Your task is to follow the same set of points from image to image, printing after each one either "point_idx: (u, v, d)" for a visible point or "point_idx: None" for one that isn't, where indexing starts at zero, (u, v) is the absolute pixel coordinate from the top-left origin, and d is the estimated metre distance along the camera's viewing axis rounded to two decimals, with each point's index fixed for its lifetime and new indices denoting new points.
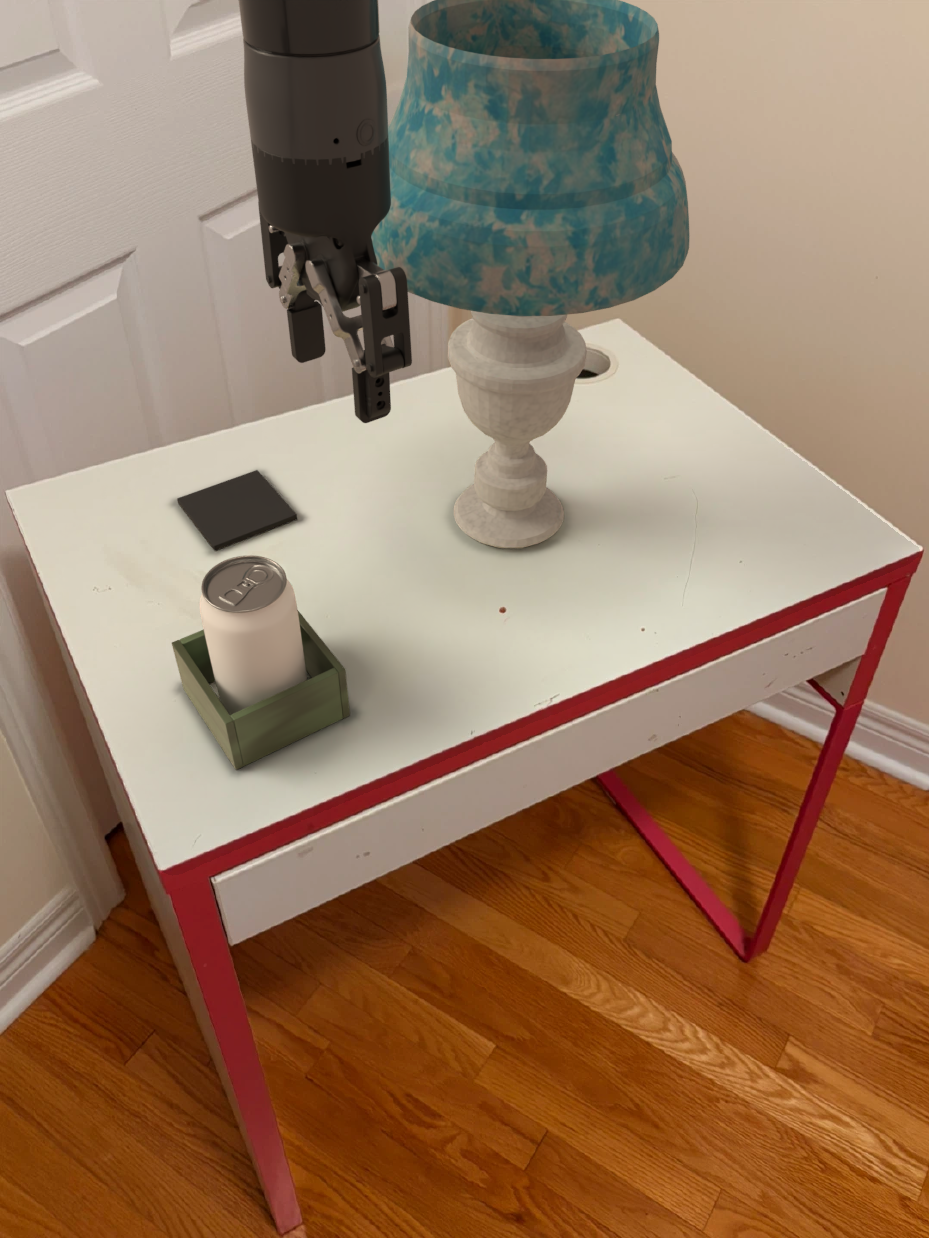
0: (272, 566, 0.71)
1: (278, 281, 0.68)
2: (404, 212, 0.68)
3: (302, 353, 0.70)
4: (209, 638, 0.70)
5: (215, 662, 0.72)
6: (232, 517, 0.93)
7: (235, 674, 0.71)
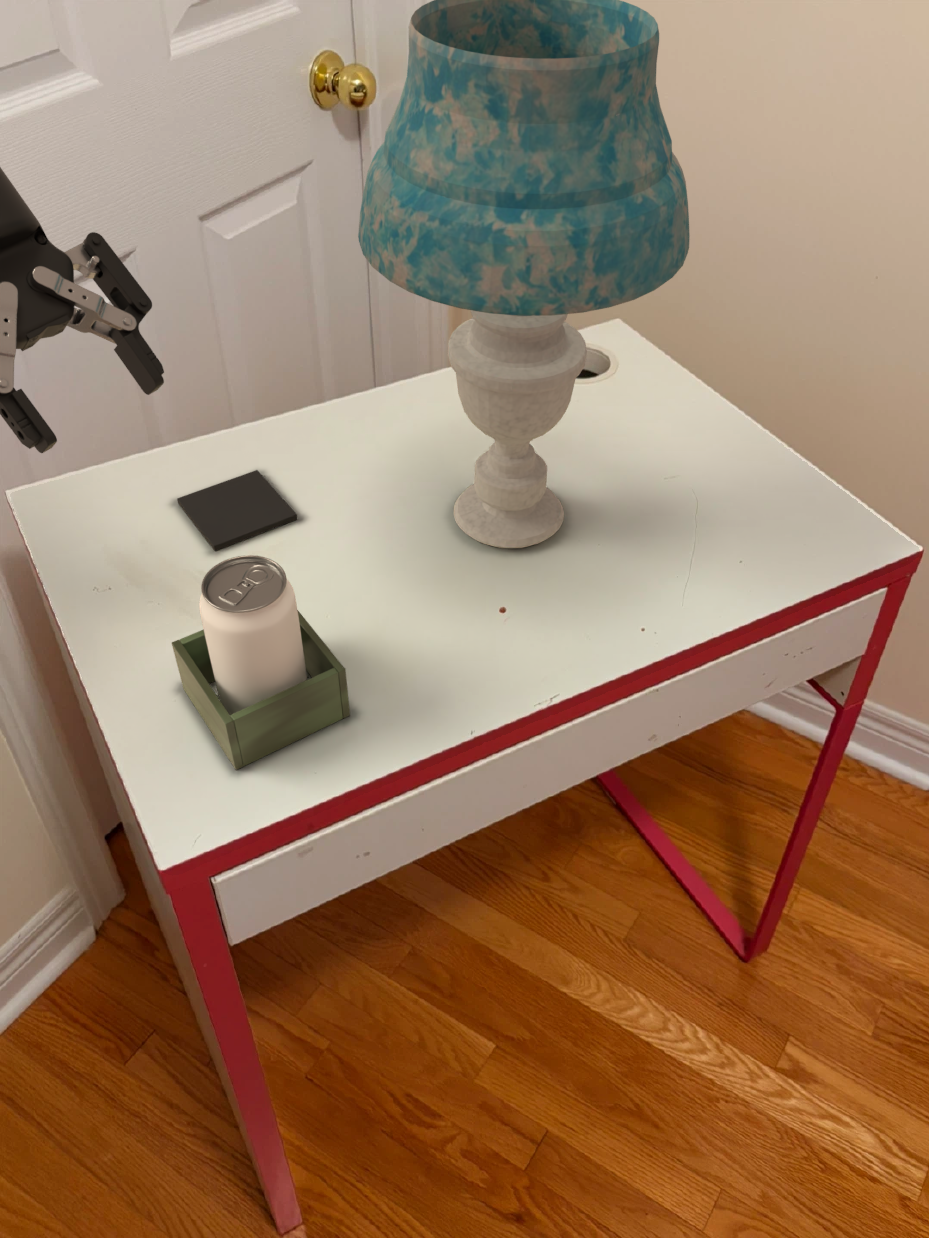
0: (272, 566, 0.71)
1: None
2: (404, 212, 0.68)
3: None
4: (209, 638, 0.70)
5: (215, 662, 0.72)
6: (232, 517, 0.93)
7: (235, 674, 0.71)
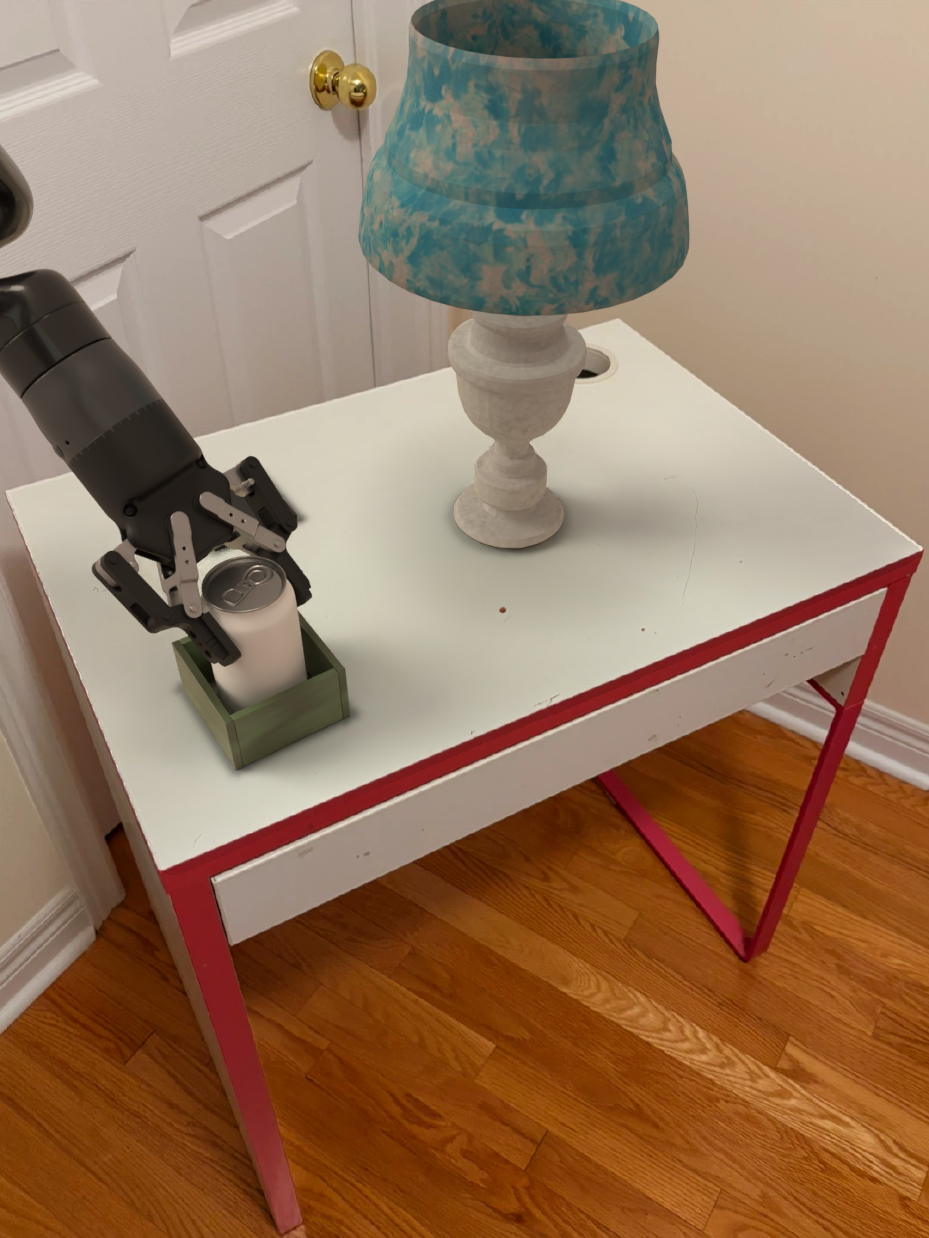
0: (272, 566, 0.71)
1: None
2: (404, 212, 0.68)
3: None
4: None
5: None
6: None
7: (235, 674, 0.71)
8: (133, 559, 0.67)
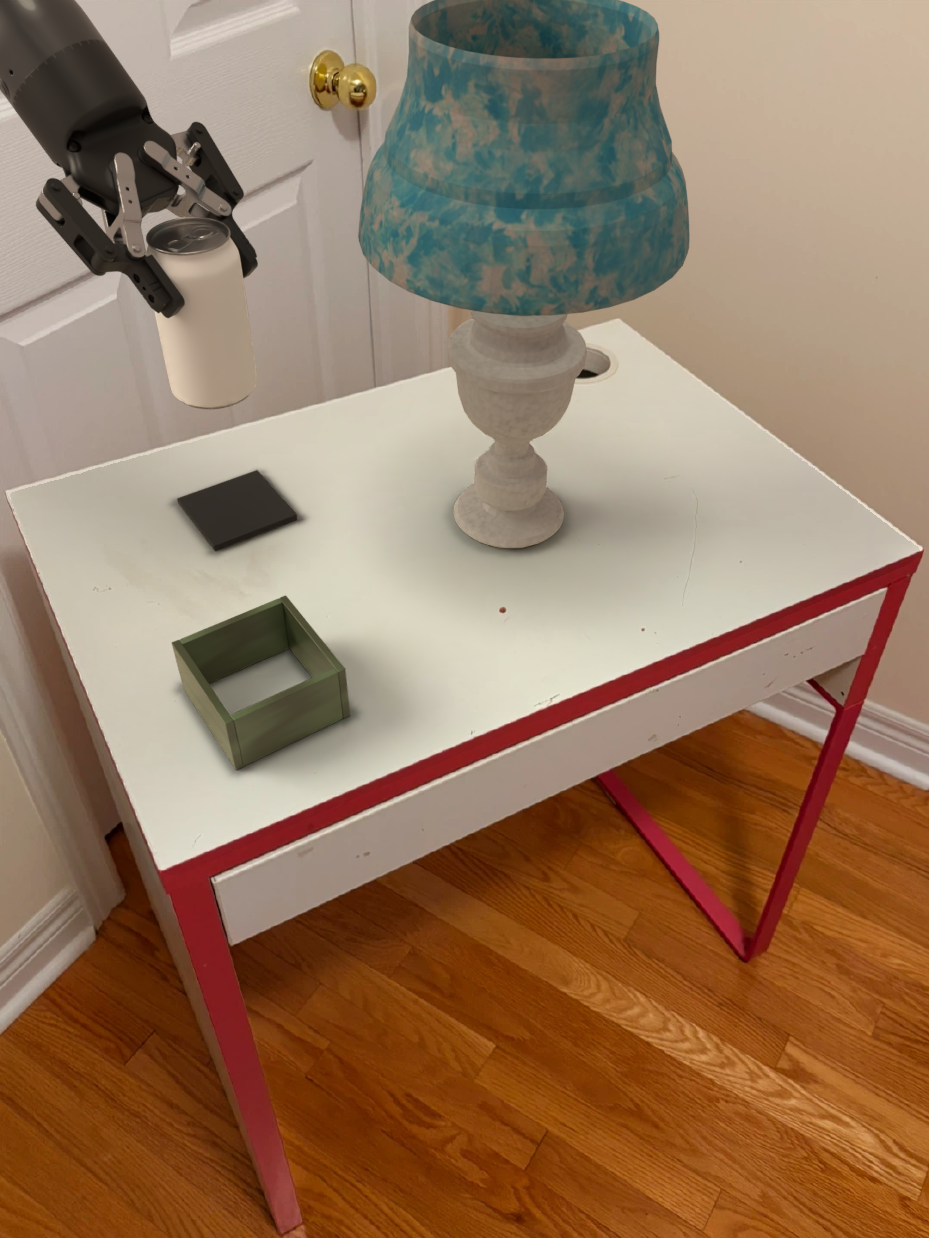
0: (217, 226, 0.73)
1: None
2: (404, 212, 0.68)
3: None
4: None
5: (161, 323, 0.73)
6: (232, 517, 0.93)
7: (180, 333, 0.73)
8: None
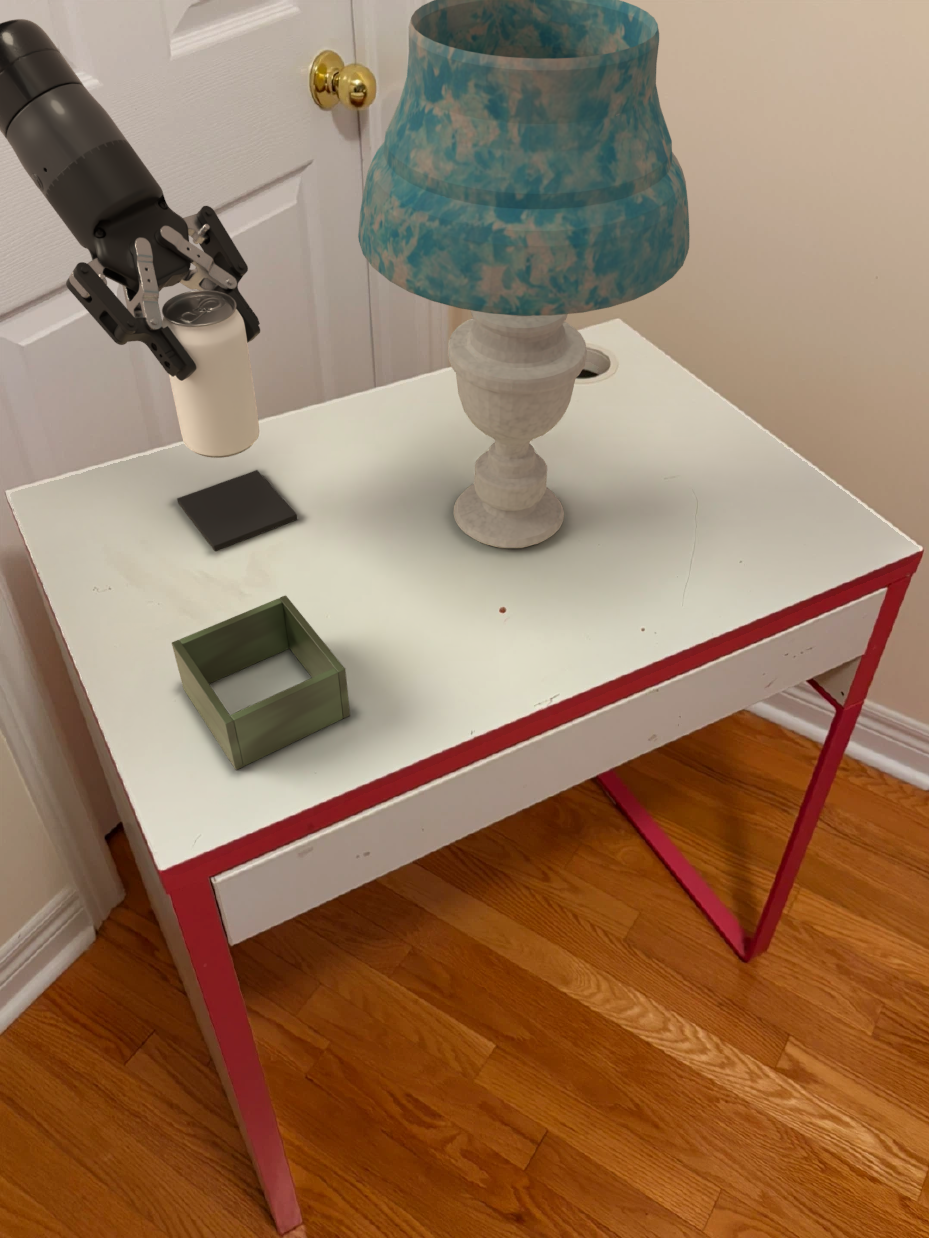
0: (224, 299, 0.82)
1: None
2: (404, 212, 0.68)
3: None
4: None
5: (174, 384, 0.83)
6: (232, 517, 0.93)
7: (191, 392, 0.82)
8: None
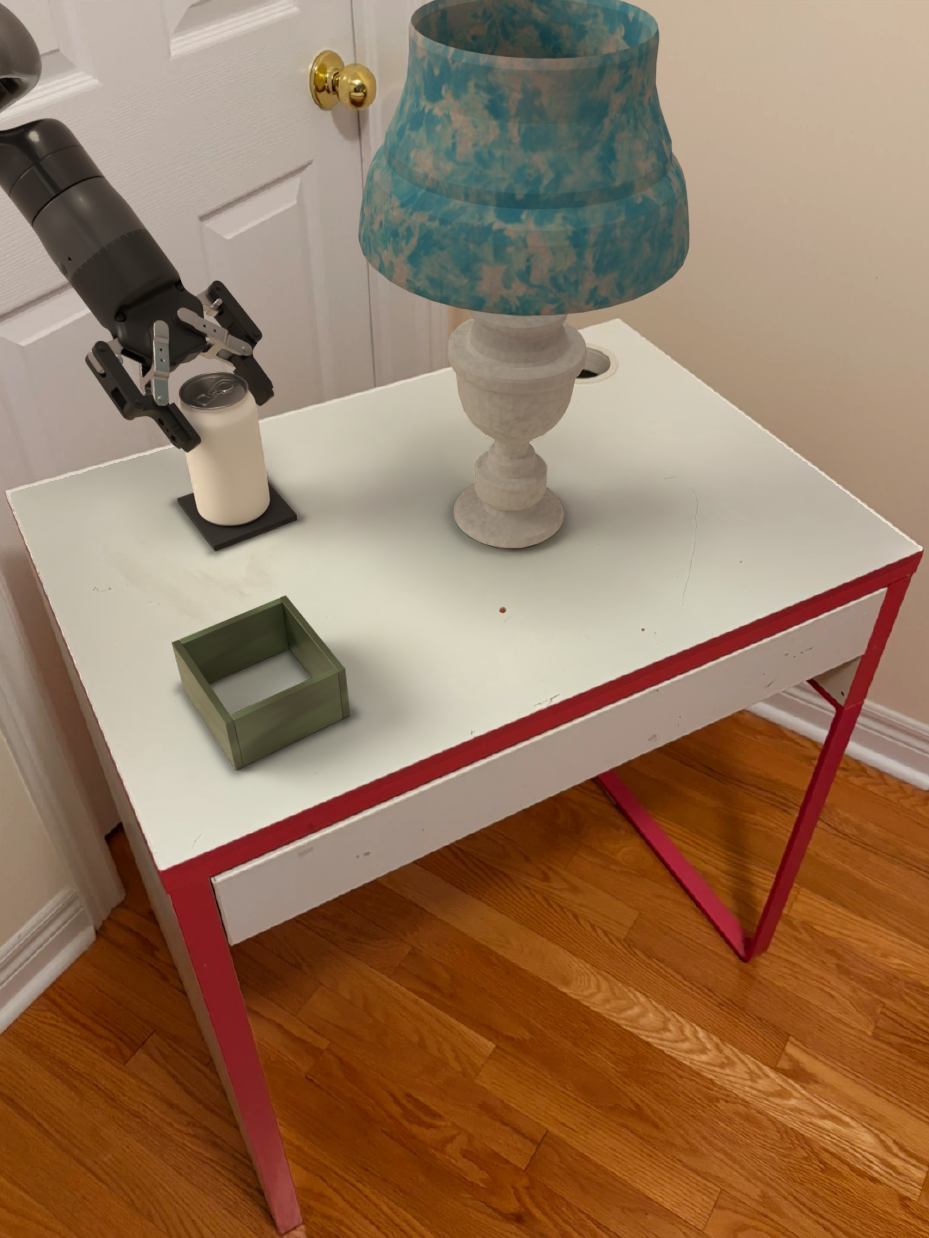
0: (237, 380, 0.87)
1: None
2: (404, 212, 0.68)
3: None
4: None
5: (190, 460, 0.88)
6: None
7: (206, 468, 0.87)
8: None
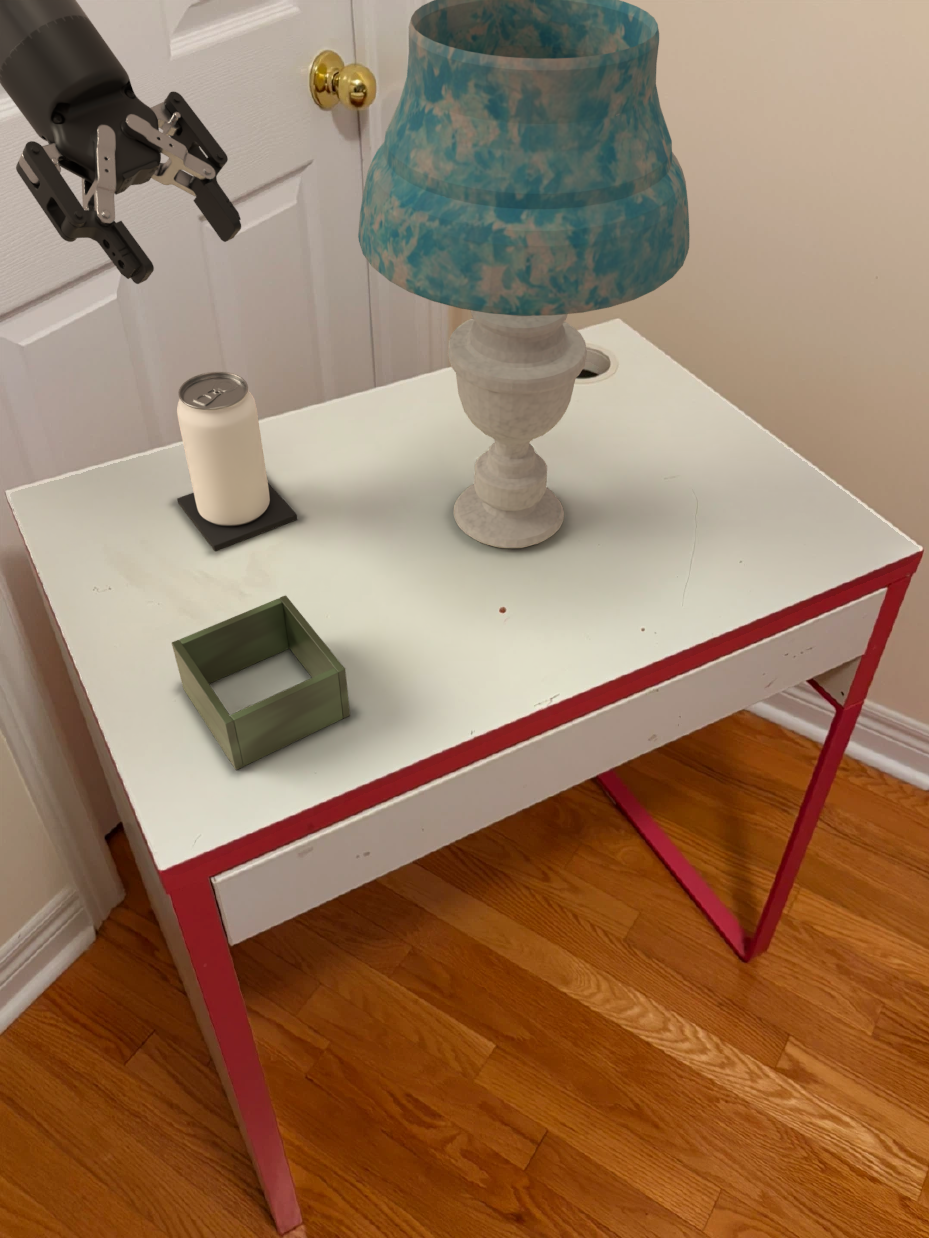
0: (237, 380, 0.87)
1: None
2: (404, 212, 0.68)
3: None
4: (185, 436, 0.86)
5: (190, 460, 0.88)
6: None
7: (206, 468, 0.87)
8: None
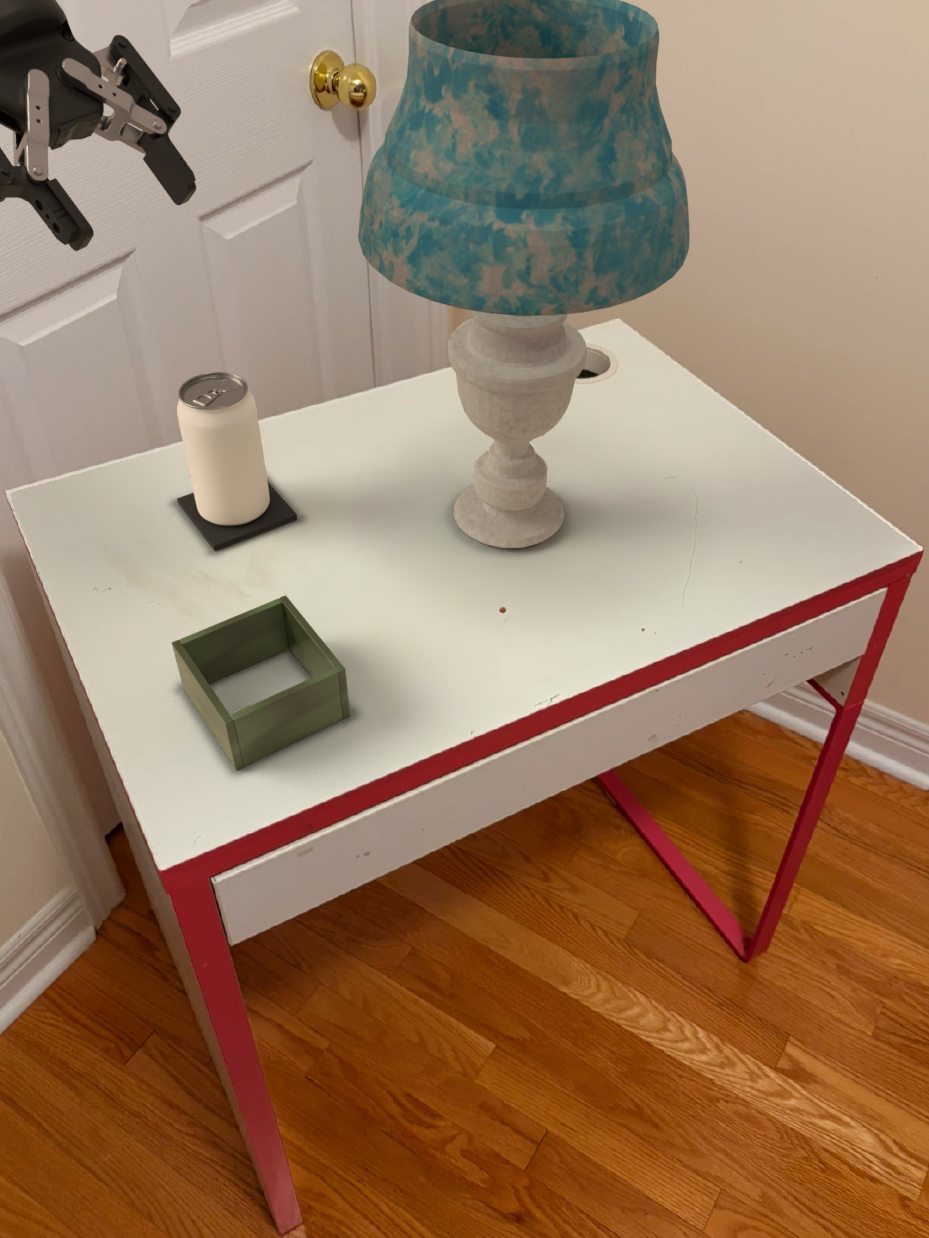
0: (237, 380, 0.87)
1: None
2: (404, 212, 0.68)
3: None
4: (185, 436, 0.86)
5: (190, 460, 0.88)
6: None
7: (206, 468, 0.87)
8: None
